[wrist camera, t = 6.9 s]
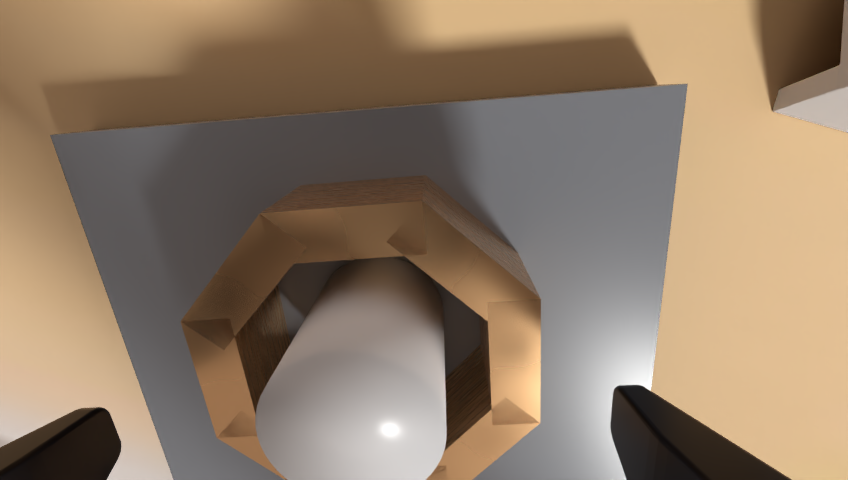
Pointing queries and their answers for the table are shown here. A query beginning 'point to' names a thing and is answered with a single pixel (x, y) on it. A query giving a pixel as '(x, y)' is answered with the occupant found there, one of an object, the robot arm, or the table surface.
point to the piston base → (473, 154)
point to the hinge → (820, 92)
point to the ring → (361, 239)
